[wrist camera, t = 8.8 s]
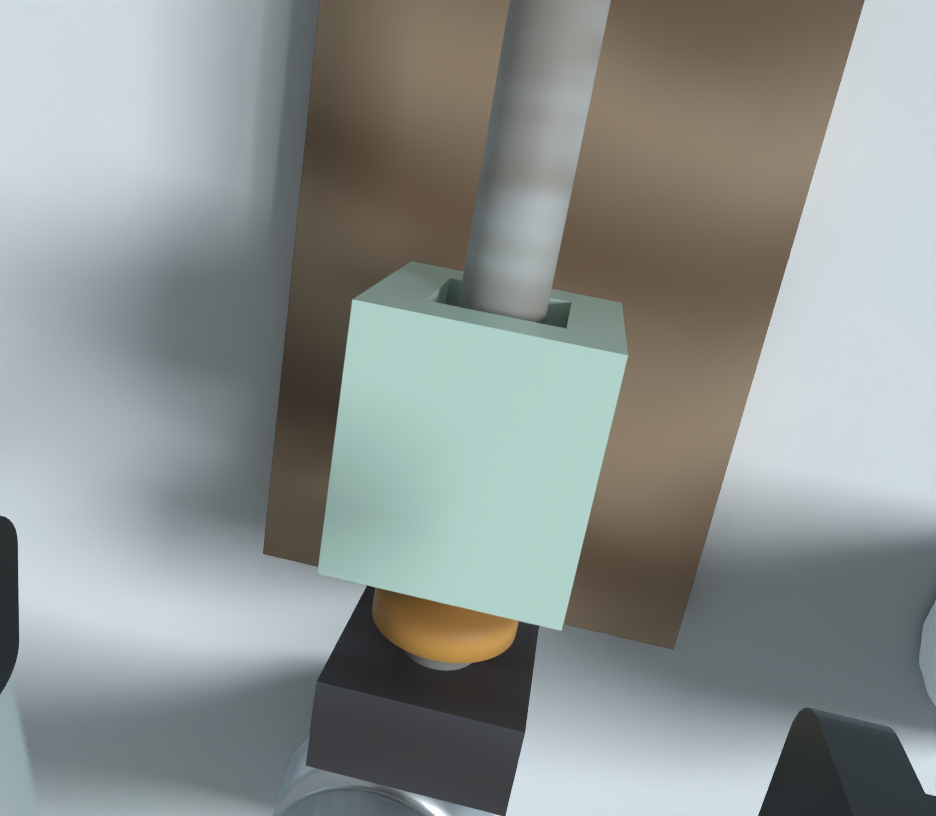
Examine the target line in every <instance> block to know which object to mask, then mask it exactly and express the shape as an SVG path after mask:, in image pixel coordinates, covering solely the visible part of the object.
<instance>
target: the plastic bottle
mask: <svg viewBox="0 0 936 816" xmlns="http://www.w3.org/2000/svg"><path fill="white" fill-rule="evenodd" d="M309 736H310V734H309ZM309 736H308V737H307V738H306V739H305V740H304V742H303V743H302V744H301V745H300V746H299V748H298V749H297V750H296V751H295V753H294V755H293V757H292V759H291V761H290V763H289V765H288V767H287V770H286V773H285V776H284V779H283V782H282V785H281V788H280V791H279V794H278V798H277V801H276V805H275V809H274V813H273V816H494V814H493V813H489V812H485V811H481V810H477V809H473V808H469V807H465V806H462V805H458V804H454V803H450V802H446V801H442V800H438V799H434V798H430V797H426V796H422V795H418V794H415V793H411V792H407V791H403V790H399V789H395V788H391V787H387V786H383V785H379V784H375V783H371V782H367V781H364V780H360V779H356V778H352V777H348V776H344V775H340V774H336V773H332V772H328V771H324V770H320V769H317V768H313V767H309V766H306V759H307V751H308V744H309Z"/></svg>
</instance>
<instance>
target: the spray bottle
mask: <svg viewBox="0 0 936 816" xmlns="http://www.w3.org/2000/svg"><path fill="white" fill-rule="evenodd" d="M919 664H920V668H921V672H922V675H923V679H924V683H925V686H926V690H927V693H928V695H929V697H930V698H931V700H932V702H933V703H934V705H935V707H936V601H935V602H934V604H933V606H932V608H931V610H930V612H929V614H928V616H927V618H926V620H925V621H924V624H923V630H922V638H921V646H920V654H919Z"/></svg>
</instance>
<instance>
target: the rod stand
mask: <svg viewBox="0 0 936 816" xmlns="http://www.w3.org/2000/svg"><path fill="white" fill-rule="evenodd" d="M863 4H864V0H320V3H319V13H318V22H317V32H316V42H315V52H314V61H313V71H312V81H311V91H310V100H309V110H308V120H307V130H306V139H305V149H304V159H303V169H302V178H301V188H300V198H299V208H298V217H297V227H296V237H295V247H294V256H293V266H292V276H291V286H290V295H289V305H288V315H287V325H286V334H285V344H284V354H283V364H282V373H281V383H280V393H279V403H278V412H277V422H276V432H275V442H274V451H273V461H272V471H271V481H270V490H269V500H268V510H267V520H266V529H265V539H264V549H263V554H266V555H270V556H275V557H279V558H283V559H288V560H292V561H296V562H300V563H305V564H309V565H313V566H318V565H319V557H320V549H321V541H322V534H323V526H324V518H325V510H326V502H327V494H328V487H329V479H330V471H331V463H332V455H333V447H334V439H335V432H336V424H337V416H338V408H339V400H340V392H341V385H342V377H343V369H344V361H345V353H346V345H347V338H348V330H349V322H350V314H351V306H352V299H354V298H355V297H357V296H358V295H360V294H362V293H363V292H365V291H366V290H368V289H369V288H371V287H372V286H374V285H375V284H377V283H378V282H380V281H382V280H383V279H385V278H386V277H388V276H389V275H391V274H392V273H394V272H395V271H397V270H399V269H400V268H402V267H403V266H405V265H406V264H408V263H409V262H411V261H413V262H418V263H423V264H428V265H434V266H439V267H444V268H449V269H454V270H459V271H464V273H463V279H462V285H461V291H460V297H459V303H458V307H462V308H467V309H472V310H476V311H481V312H486V313H491V314H496V315H501V316H506V317H511V318H516V319H521V320H526V321H531V322H536V323H541V324H545V319H546V314H547V309H548V304H549V299H550V295H551V290H552V289H555V290H560V291H565V292H570V293H575V294H580V295H585V296H590V297H595V298H600V299H605V300H610V301H616V302H621V303H622V307H623V316H624V324H625V333H626V341H627V350H628V358H627V362H626V367H625V371H624V375H623V379H622V383H621V387H620V391H619V396H618V400H617V404H616V408H615V412H614V416H613V420H612V425H611V429H610V433H609V437H608V441H607V445H606V449H605V454H604V458H603V462H602V466H601V470H600V474H599V478H598V483H597V487H596V491H595V495H594V499H593V503H592V507H591V512H590V516H589V520H588V524H587V528H586V532H585V536H584V541H583V545H582V549H581V553H580V557H579V561H578V565H577V570H576V574H575V578H574V582H573V586H572V590H571V594H570V599H569V603H568V607H567V611H566V615H565V619H564V623H563V624H566V625H571V626H575V627H579V628H583V629H588V630H592V631H596V632H601V633H605V634H609V635H613V636H618V637H622V638H626V639H631V640H635V641H639V642H643V643H648V644H652V645H656V646H661V647H665V648H669V649H674V646H675V642H676V639H677V635H678V632H679V629H680V625H681V622H682V618H683V615H684V612H685V608H686V605H687V601H688V598H689V595H690V591H691V588H692V585H693V581H694V578H695V574H696V571H697V568H698V564H699V561H700V557H701V554H702V551H703V547H704V544H705V540H706V537H707V534H708V530H709V527H710V523H711V520H712V517H713V513H714V510H715V506H716V503H717V500H718V496H719V493H720V489H721V486H722V483H723V479H724V476H725V472H726V469H727V466H728V462H729V459H730V455H731V452H732V449H733V445H734V442H735V438H736V435H737V432H738V428H739V425H740V421H741V418H742V415H743V411H744V408H745V404H746V401H747V398H748V394H749V391H750V388H751V384H752V381H753V377H754V374H755V371H756V367H757V364H758V360H759V357H760V354H761V350H762V347H763V343H764V340H765V337H766V333H767V330H768V326H769V323H770V320H771V316H772V313H773V309H774V306H775V303H776V299H777V296H778V292H779V289H780V286H781V282H782V279H783V275H784V272H785V269H786V265H787V262H788V258H789V255H790V252H791V248H792V245H793V241H794V238H795V235H796V231H797V228H798V224H799V221H800V218H801V214H802V211H803V207H804V204H805V201H806V197H807V194H808V191H809V187H810V184H811V180H812V177H813V174H814V170H815V167H816V163H817V160H818V157H819V153H820V150H821V146H822V143H823V140H824V136H825V133H826V129H827V126H828V123H829V119H830V116H831V112H832V109H833V106H834V102H835V99H836V95H837V92H838V89H839V85H840V82H841V78H842V75H843V72H844V68H845V65H846V61H847V58H848V55H849V51H850V48H851V44H852V41H853V38H854V34H855V31H856V27H857V24H858V21H859V17H860V14H861V10H862V7H863ZM538 628H539V625H534V624H530V623H526V622H521V621H517V620H513V619H509V618H504V617H500V616H496V615H492V614H487V613H483V612H479V611H474V610H470V609H466V608H462V607H457V606H453V605H449V604H445V603H440V602H436V601H432V600H427V599H423V598H419V597H415V596H410V595H406V594H402V593H398V592H393V591H389V590H385V589H380V588H376V587H372V586H368V585H367V587H366V589H365V591H364V593H363V594H362V596H361V598H360V600H359V602H358V604H357V606H356V608H355V610H354V612H353V614H352V615H351V617H350V619H349V621H348V623H347V625H346V627H345V629H344V631H343V633H342V634H341V636H340V638H339V640H338V642H337V644H336V646H335V648H334V650H333V652H332V654H331V655H330V657H329V659H328V661H327V663H326V665H325V667H324V669H323V671H322V673H321V674H320V676H319V678H318V680H317V684H316V691H315V699H314V706H313V714H312V721H311V729H310V736H309V744H308V751H307V759H306V766H309V767H313V768H317V769H320V770H324V771H328V772H332V773H336V774H340V775H344V776H348V777H352V778H356V779H360V780H364V781H367V782H371V783H375V784H379V785H383V786H387V787H391V788H395V789H399V790H403V791H407V792H411V793H415V794H418V795H422V796H426V797H430V798H434V799H438V800H442V801H446V802H450V803H454V804H458V805H462V806H465V807H469V808H473V809H477V810H481V811H485V812H489V813H493V814H497V815H501V816H505V815H506V811H507V806H508V802H509V798H510V794H511V790H512V785H513V781H514V777H515V773H516V768H517V764H518V760H519V756H520V751H521V747H522V743H523V739H524V734H525V728H526V720H527V713H528V705H529V697H530V690H531V682H532V674H533V667H534V659H535V651H536V644H537V636H538Z"/></svg>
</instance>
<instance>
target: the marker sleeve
mask: <svg viewBox="0 0 936 816" xmlns="http://www.w3.org/2000/svg"><path fill="white" fill-rule="evenodd" d="M463 273H464V271H459V270H454V269H449V268H444V267H439V266H434V265H428V264H423V263H418V262H413V261H411V262H409V263H408V264H406V265H405V266H403V267H402V268H400V269H399V270H397V271H395V272H394V273H392V274H391V275H389V276H388V277H386V278H385V279H383V280H382V281H380V282H378V283H377V284H375V285H374V286H372V287H371V288H369V289H368V290H366V291H365V292H363V293H362V294H360V295H358V296H357V297H355V298H354V299H352V306H351V314H350V322H349V330H348V338H347V345H346V353H345V361H344V369H343V377H342V385H341V392H340V400H339V408H338V416H337V424H336V432H335V439H334V447H333V455H332V463H331V471H330V479H329V487H328V494H327V502H326V510H325V518H324V526H323V534H322V541H321V549H320V557H319V565H318V573H317V574H321V575H325V576H329V577H333V578H338V579H342V580H346V581H351V582H355V583H359V584H363V585H368V586H372V587H376V588H380V589H385V590H389V591H393V592H398V593H402V594H406V595H410V596H415V597H419V598H423V599H427V600H432V601H436V602H440V603H445V604H449V605H453V606H457V607H462V608H466V609H470V610H474V611H479V612H483V613H487V614H492V615H496V616H500V617H504V618H509V619H513V620H517V621H521V622H526V623H530V624H534V625H539V626H543V627H547V628H551V629H556V630H560V631H562V628H563V623H564V619H565V615H566V611H567V607H568V603H569V599H570V594H571V590H572V586H573V582H574V578H575V574H576V570H577V565H578V561H579V557H580V553H581V549H582V545H583V541H584V536H585V532H586V528H587V524H588V520H589V516H590V512H591V507H592V503H593V499H594V495H595V491H596V487H597V483H598V478H599V474H600V470H601V466H602V462H603V458H604V454H605V449H606V445H607V441H608V437H609V433H610V429H611V425H612V420H613V416H614V412H615V408H616V404H617V400H618V396H619V391H620V387H621V383H622V379H623V375H624V371H625V367H626V362H627V358H628V350H627V341H626V333H625V324H624V316H623V307H622V303H621V302H616V301H610V300H605V299H600V298H595V297H590V296H585V295H580V294H575V293H570V292H565V291H560V290H555V289H552V290H551V295H550V299H549V304H548V309H547V314H546V319H545V324H541V323H536V322H531V321H526V320H521V319H516V318H511V317H506V316H501V315H496V314H491V313H486V312H481V311H476V310H472V309H467V308H462V307H458V303H459V297H460V291H461V285H462V279H463Z"/></svg>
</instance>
